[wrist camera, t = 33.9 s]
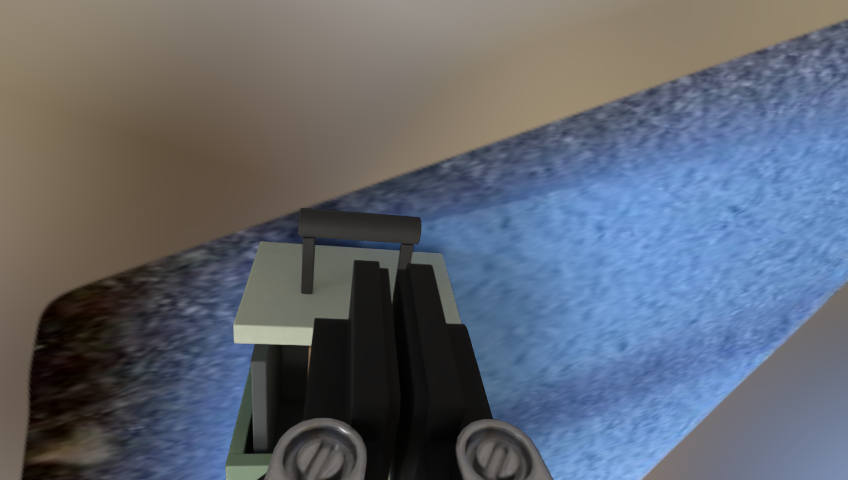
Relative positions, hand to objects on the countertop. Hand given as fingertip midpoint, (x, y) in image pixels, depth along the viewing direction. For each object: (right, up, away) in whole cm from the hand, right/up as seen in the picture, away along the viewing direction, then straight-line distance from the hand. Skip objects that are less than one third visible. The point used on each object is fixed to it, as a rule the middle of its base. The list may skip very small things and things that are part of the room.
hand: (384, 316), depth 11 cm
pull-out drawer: (-4, -2, +22) cm, 23 cm away
